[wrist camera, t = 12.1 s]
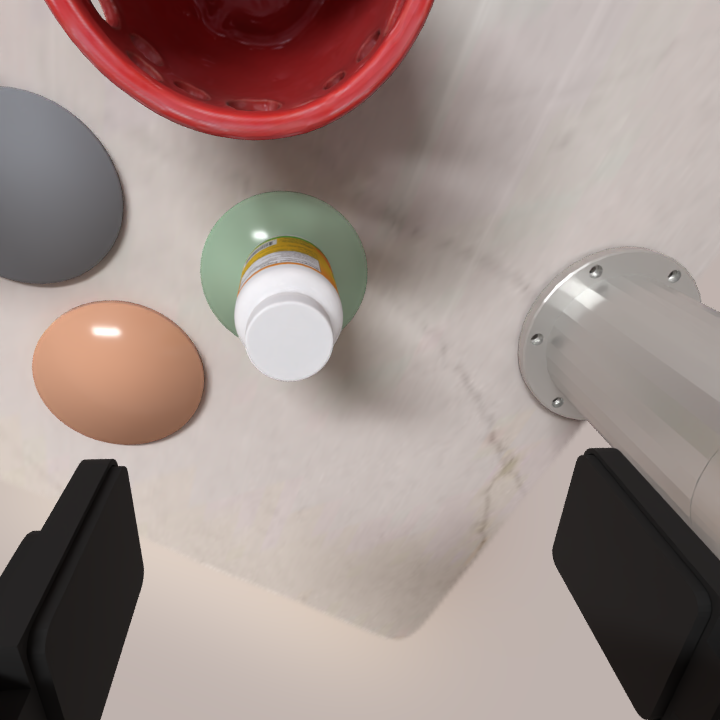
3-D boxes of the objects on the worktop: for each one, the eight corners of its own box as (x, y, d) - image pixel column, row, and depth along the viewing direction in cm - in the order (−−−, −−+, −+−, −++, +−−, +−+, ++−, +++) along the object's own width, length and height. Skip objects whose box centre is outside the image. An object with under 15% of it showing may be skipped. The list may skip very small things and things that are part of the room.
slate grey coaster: (105, 87, 28) (101, 88, 27) (138, 276, 32) (135, 281, 31) (-111, 84, 26) (-122, 84, 26) (-45, 281, 31) (-53, 286, 30)
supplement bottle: (323, 324, 35) (337, 402, 26) (237, 311, 33) (222, 388, 25) (339, 241, 32) (361, 297, 24) (248, 224, 31) (236, 276, 23)
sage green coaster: (321, 158, 31) (323, 160, 30) (389, 304, 35) (392, 309, 35) (168, 236, 32) (166, 239, 31) (254, 369, 36) (254, 375, 35)
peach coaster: (148, 273, 32) (145, 278, 31) (232, 401, 37) (232, 408, 36) (0, 341, 32) (-6, 347, 32) (102, 458, 37) (99, 465, 37)
